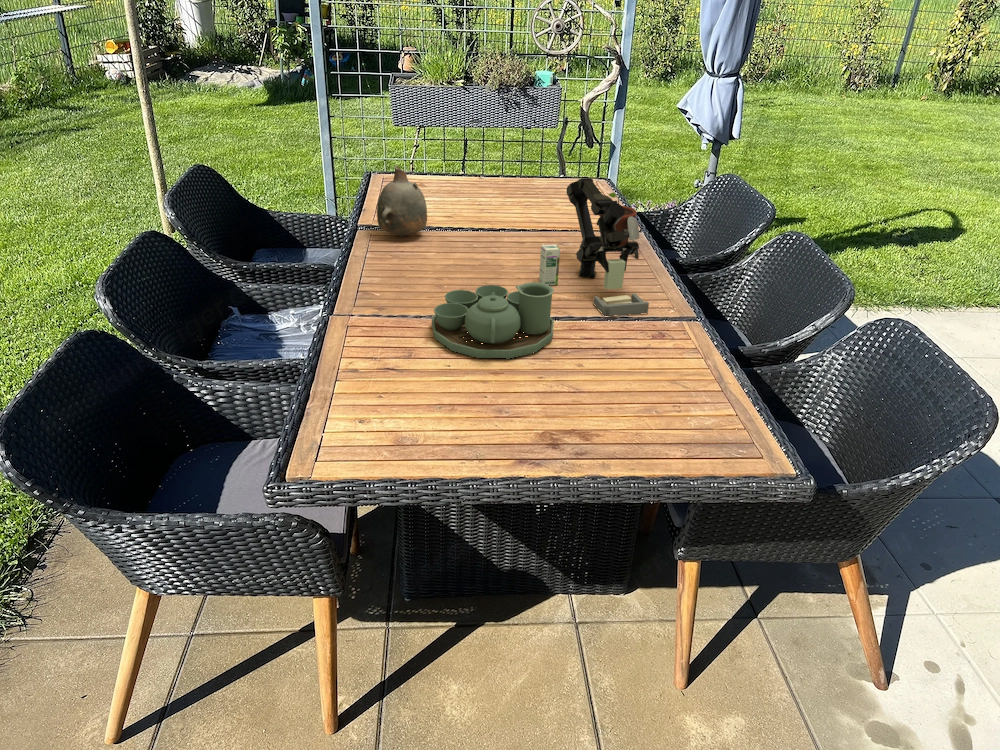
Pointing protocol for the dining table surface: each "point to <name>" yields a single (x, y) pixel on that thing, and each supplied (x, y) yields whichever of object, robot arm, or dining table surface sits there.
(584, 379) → the dining table surface
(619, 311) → the frame
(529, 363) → the dining table surface
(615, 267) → the green block
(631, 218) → the potted plant
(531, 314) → the tea set
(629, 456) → the dining table surface
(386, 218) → the jug
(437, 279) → the dining table surface
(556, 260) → the syrup box
